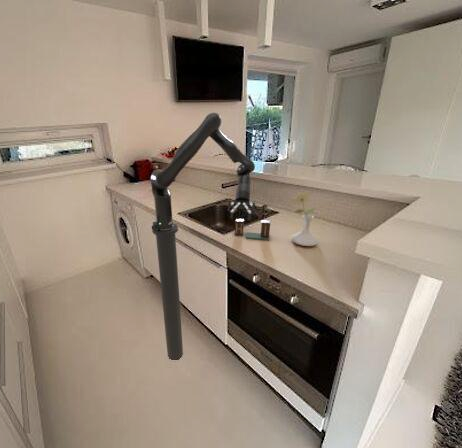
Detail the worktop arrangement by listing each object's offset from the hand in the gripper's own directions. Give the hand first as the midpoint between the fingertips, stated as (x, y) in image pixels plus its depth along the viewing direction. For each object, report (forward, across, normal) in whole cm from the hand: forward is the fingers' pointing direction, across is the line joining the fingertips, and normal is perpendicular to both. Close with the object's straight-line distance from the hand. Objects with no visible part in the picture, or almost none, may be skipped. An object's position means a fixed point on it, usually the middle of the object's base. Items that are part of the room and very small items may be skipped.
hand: (240, 220), depth 128 cm
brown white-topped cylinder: (+7, +13, +2) cm, 15 cm away
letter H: (+6, 0, +4) cm, 7 cm away
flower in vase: (+9, +30, +1) cm, 32 cm away
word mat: (+8, +9, +3) cm, 12 cm away
